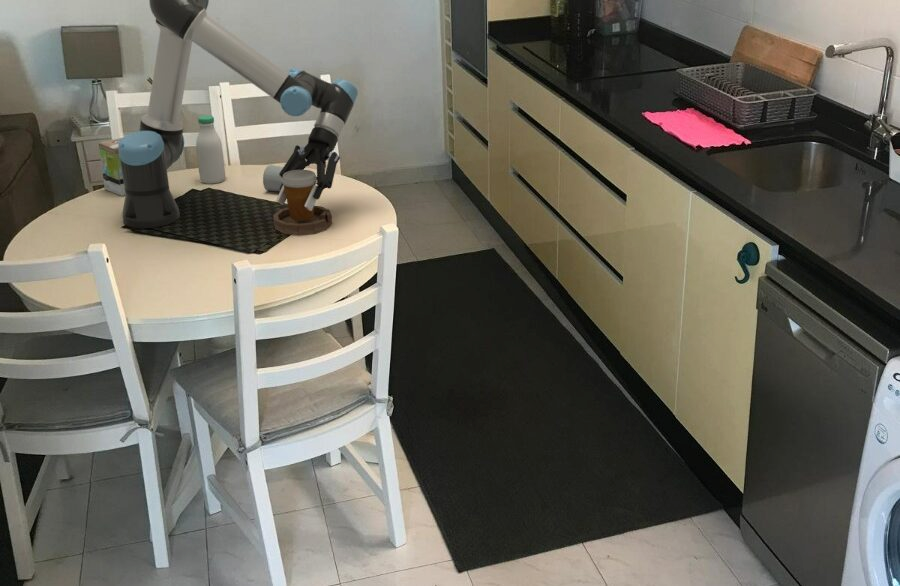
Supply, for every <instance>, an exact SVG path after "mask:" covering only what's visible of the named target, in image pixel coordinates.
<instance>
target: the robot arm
mask: <svg viewBox="0 0 900 586" xmlns="http://www.w3.org/2000/svg"><path fill="white" fill-rule="evenodd" d="M148 2H149V9H150V11H151V13H152V15H153V17H154V18H155V24H156V25H157V26H158V28H159V30H160V31H159V36H158V37H159V38H158V43H157V50H156V54H155V55H156V58H155V62H154V68H153V76H152V82H151V89H150V96H149V102H148V108H147V109H148V110H147V113H145V114H144V115H142V116H141V117H140V118H141V119H140V124H139V129H138V131H134V132H131V133H127V134H125V135H123V136H122V137H121V138H122V139H121V140H120V141H119V145H118V147H119V151H118V152H119V153H118V154H119V157H120V163H121V169H122V175H123V181H124V187H125V194H126V195H124V196H125V197H124V202H123V207H122V214H121V216H122V222H123V224H124V225H125V226H127V227H130V228H134V229H135V228H136V229H152V228H160V227H164V226H167V225H170V224H173V223H174V222H176V221H177V220H179V219H180V215H181V214H180V208H179V206H178V204H177V203H176V200H175V198H174V197H173V193H172V192H171V190H170V183H169V182H170V181H169V176H168V170H169V168H170V167H172V166H173V164H174V163H176V162H177V161H178V160H179V158H180V157H181V156H182V154H183V151H184V148H185V138H184V128H185V127H184V123H183V122H182V121H181V119H180V117H181V112H182V104H183V99H184V92H185V87H186V80H187V75H188V69H189V64H190V63H189V62H190V58H191V51H192V45H193V43H194V44H196V45H197V46H198V47H200V48H201V49H203V50H204V51H206V52H207V53H208V54H210V55H211V56H212V57H214V58H215V59H217V60H218V61H220V62H221V63H223V64H224V65H225V66H227V67H228V68H230V69H231V70H232V71H233V72H235V73H237V74H238V75H239V76H241V77H242V78H244V80H247V81H248V82H249V83H251V84H252V85H254V86H255V87H257V88H258V90H259V89H260V90H261V91H262V92H263V93H265V94H266V95H268V96H269V97H271V98H272V99H274V100H275V101H276V102H277V103H279V104H280V106H281V109H282V110H283V111H284V113H285V114H287V115H288V116H290V117H300V116H303V115H304V114H305V113H306V112H308V111H309V110H310V109H311V108H312V106H313V107H315V108H318V109H320V112H319V114H318V115H317V118H316V121H315V123H314V124H313V128H312V129H311V132H310V133H309V136H308V138H307V139H308V140H307V144H306V145H305V146H304V147H303V146H300V145H298V144H297V145H295V147H294V149H293V152H292V154H291V156H290V157H289V159H288V160H287V162H286V163H285V164H284V166H282V167H283V169H282V170H281V172H280V173H279V175H280V176H281V177H282V178H283V174H284V173H286V172H288V171H292V170H305V169H306V168H307V167H310V165H313V164H314V165H316V177H317V182H316V185H313V188H312V190H311V192H310V194H309V197H308V199H307V201H306V203H305V207H306V208H307V209H308V210H309V211H312V209H313V207H314V206H315V204H316V202H317V200H320V198H321V195H322V193H323V191H324V190H325V189H331V188H332V186H333V182H334V177H335V173H336V170H337V169H336V168H337V164H338V163H339V161H340V159H341V156H340V155H339V154H338V153H337V152H335V151H334V150H335V149H336V146H337V143H338V142H339V138H340V137H341V135H342V132H343V130H344V127H345V125H346V122H347V121H348V118H349V116H350V114H351V111H352V110H353V108H354V105H355V103H356V99H357V98H358V88H357V87H356V86H355V84H353V83H352V82H350V81H348V80H346V79H342V78H337V79H335V80H334V81H333V82H332V83H330V82H328V81H326V80H323V79H321V78H320V77H318V76H315V75H314V74H311V73H308V72H307V71H306V70H302V69H300V68H297V67H291V68H290V69H289V71H288V72H286V71H285V70H284V69H282V68H281V67H280V66H278V65H277V64H276V63H274V62H273V61H271V60H270V59H269V58H267V57H266V56H264V55H263V54H261V53H260V52H259V51H257V50H256V49H255V48H254V47H252V46H251V45H249V44H248V43H246V42H245V41H244V40H242V39H241V38H239V37H238V36H237V35H235V34H233V33H232V32H231V31H229V30H228V29H227V28H225V27H224V26H222V25H221V24H220V23H218V22H217V21H215V20H214V19H213V18H211V17H210V16H209V15H208V13H207V10H208V6H209V2H210V0H149V1H148ZM326 161H327V162H326ZM276 201H277V203H279V204H280V205H281V206H285V203H286V202H287V198H286V194H285V189H284V185H283V183H282V184H281V186H280V192H279V194H278V196H277V197H276Z"/></svg>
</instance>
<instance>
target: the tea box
mask: <svg viewBox="0 0 900 586" xmlns="http://www.w3.org/2000/svg"><path fill="white" fill-rule="evenodd" d="M122 138H123V137H118V138H115V139H110V140H104V141H101V142H98V150H99V151H98V152H99V156H100V157H99V158H100V164H101V171H102V173H101V174H102V177H103V185H104V190H107V191H109V192H111V193H113V194H116V195H119V196H121V197H122V196H126V194H125V187H124V181H123V175H122V169H121V163H120V157H119V154H118V153H119V152H118V151H119V147H118V145H119V141H120V140H121V139H122Z"/></svg>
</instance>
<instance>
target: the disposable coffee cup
mask: <svg viewBox="0 0 900 586" xmlns="http://www.w3.org/2000/svg"><path fill="white" fill-rule="evenodd" d="M281 181H282V183H283V185H284V189H285V194H286V198H287V199H286V202H287V206H288V207H287V208H289V213H290V218H291V219H293V220H297V221H304V220H309V219H312V218H313V217H314V207H313V209H312V211H309V210H308V209H307V208H306V207H305V203H306V201H307V199H308V197H309V194H310V192H311V190H312V188H313V185H317V184H316V183H317V174H316V172H315V171H313V170H309V169H303V170H292V171H288V172H286V173H284V174H283V178H282V179H281Z"/></svg>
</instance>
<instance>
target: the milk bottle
mask: <svg viewBox="0 0 900 586" xmlns="http://www.w3.org/2000/svg"><path fill="white" fill-rule="evenodd" d="M197 121H198V125H199V130H198V131H199V132H198V135H197V136H196V137H197V138H196V144H195V146H196V148H195V149H196V157H197V166H198V174H199V181H200V182H201V183H202V184H210V185H212V184H219V183H221V182H225V180H226V170H225V169H226V168H225V167H226V166H225V159H224V152H223V146H222V145H223V143H222V141H221V138H220V136H219V134H218V132H217V131H216V127H215V126H214V125H215V118H214V116H213V115H209V114H207V115H205V114H204V115H200V116H199V117H198V118H197Z"/></svg>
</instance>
